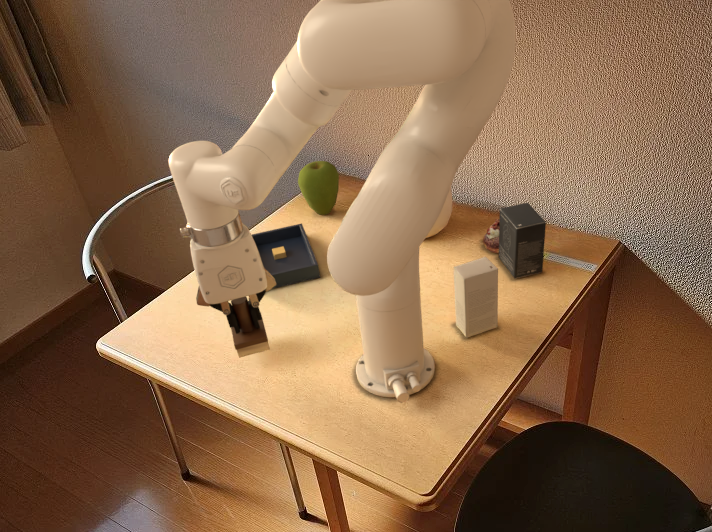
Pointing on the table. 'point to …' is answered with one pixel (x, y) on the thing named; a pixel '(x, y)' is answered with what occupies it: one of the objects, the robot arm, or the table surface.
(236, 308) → the peg on plate
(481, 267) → the cosmetic box
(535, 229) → the box
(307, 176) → the apple
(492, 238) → the pastry
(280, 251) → the tan square block
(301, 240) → the tray
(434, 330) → the table surface
